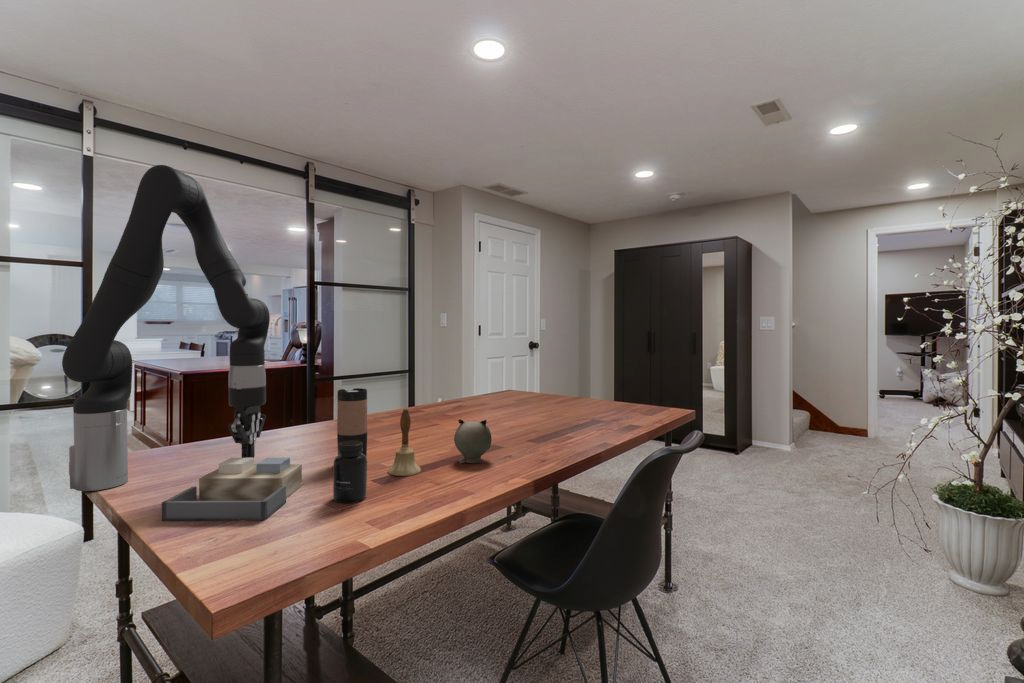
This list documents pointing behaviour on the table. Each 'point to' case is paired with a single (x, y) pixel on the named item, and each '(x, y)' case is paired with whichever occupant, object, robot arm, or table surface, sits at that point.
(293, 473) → the bench
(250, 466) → the beige block
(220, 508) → the tray
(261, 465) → the slate tile
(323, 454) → the table surface
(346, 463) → the supplement bottle
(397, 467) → the hand bell
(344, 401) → the travel mug
